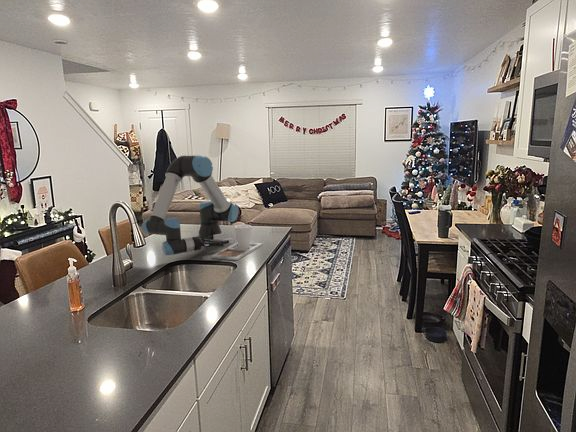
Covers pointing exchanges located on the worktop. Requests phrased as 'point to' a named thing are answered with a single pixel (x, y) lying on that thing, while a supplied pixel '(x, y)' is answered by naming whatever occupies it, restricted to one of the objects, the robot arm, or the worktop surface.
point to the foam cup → (243, 236)
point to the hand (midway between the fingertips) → (228, 238)
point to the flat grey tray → (235, 252)
